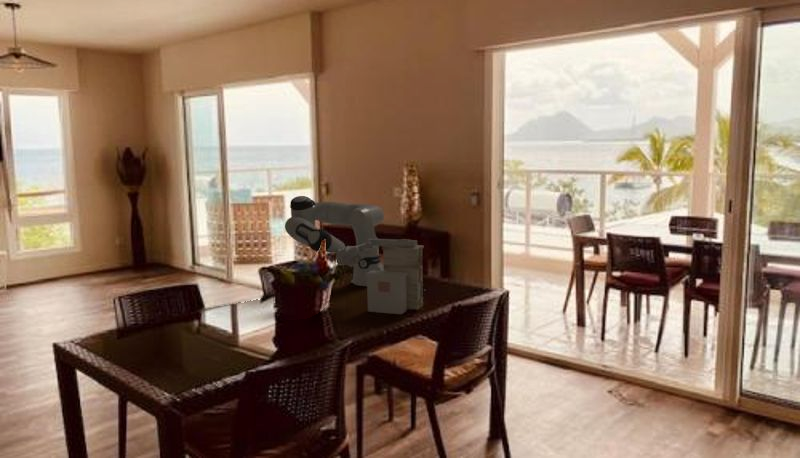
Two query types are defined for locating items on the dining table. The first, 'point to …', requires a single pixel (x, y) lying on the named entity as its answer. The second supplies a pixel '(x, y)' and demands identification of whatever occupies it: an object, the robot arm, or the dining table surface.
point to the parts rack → (386, 292)
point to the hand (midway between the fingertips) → (374, 241)
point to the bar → (393, 242)
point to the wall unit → (407, 270)
